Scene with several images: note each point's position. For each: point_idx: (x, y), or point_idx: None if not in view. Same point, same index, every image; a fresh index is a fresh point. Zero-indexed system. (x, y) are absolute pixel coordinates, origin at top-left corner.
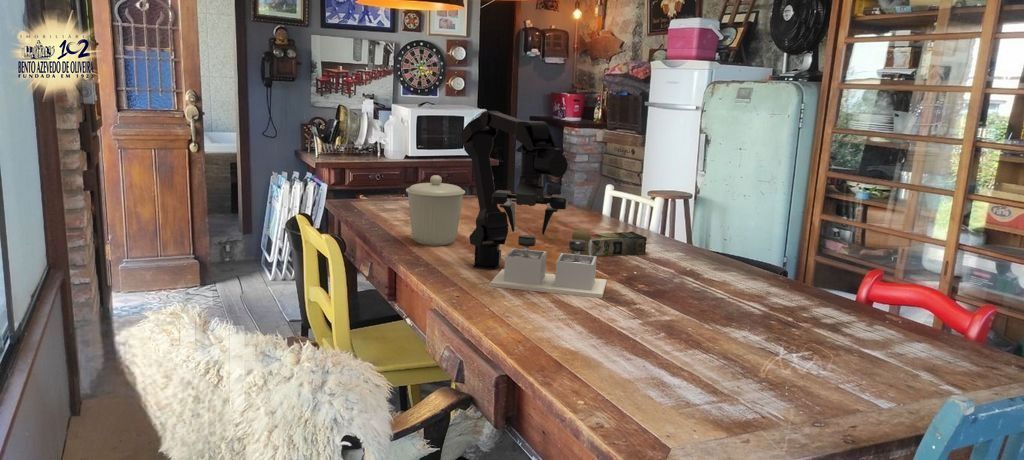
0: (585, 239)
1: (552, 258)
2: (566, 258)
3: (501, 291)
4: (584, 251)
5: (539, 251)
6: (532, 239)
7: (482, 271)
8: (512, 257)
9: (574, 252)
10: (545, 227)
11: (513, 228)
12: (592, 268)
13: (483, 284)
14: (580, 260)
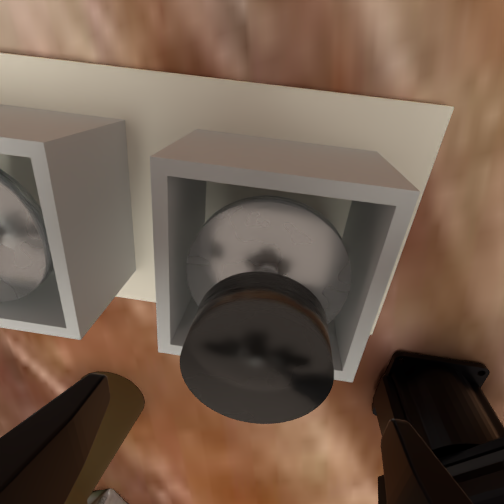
0: None
1: (206, 471)
2: (32, 263)
3: (391, 19)
4: None
5: None
6: (202, 319)
7: (449, 327)
8: (361, 183)
9: (95, 440)
10: (21, 429)
11: (408, 447)
12: None
13: (476, 135)
14: None
